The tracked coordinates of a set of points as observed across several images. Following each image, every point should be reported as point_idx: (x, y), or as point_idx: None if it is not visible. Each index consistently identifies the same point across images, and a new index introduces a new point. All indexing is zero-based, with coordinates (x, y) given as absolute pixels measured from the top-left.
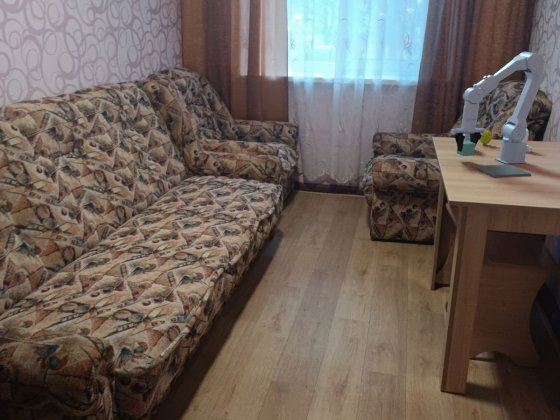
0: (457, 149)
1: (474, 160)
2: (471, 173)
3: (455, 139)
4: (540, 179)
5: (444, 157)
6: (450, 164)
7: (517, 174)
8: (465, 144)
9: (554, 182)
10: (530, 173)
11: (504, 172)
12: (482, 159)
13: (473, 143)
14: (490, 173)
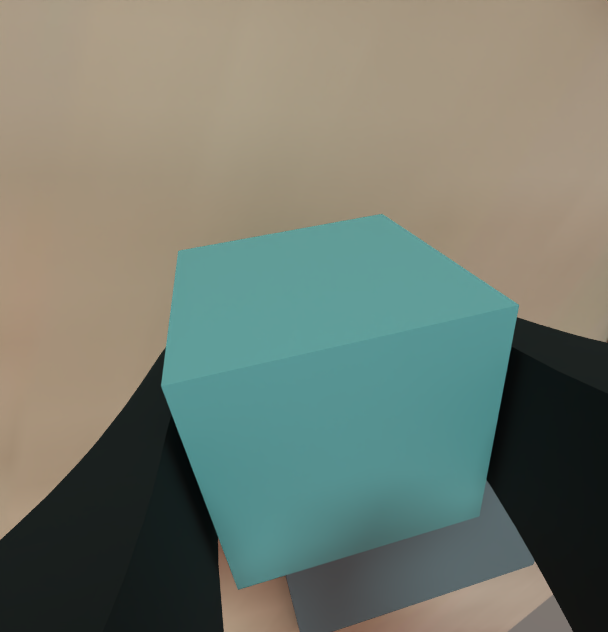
0: (159, 358)
1: (427, 221)
2: None
3: (5, 542)
4: (516, 589)
5: (18, 3)
6: (60, 414)
7: (452, 589)
8: (261, 573)
9: (535, 606)
10: (532, 563)
11: (403, 583)
12: (547, 170)
13: (455, 507)
14: (302, 619)
